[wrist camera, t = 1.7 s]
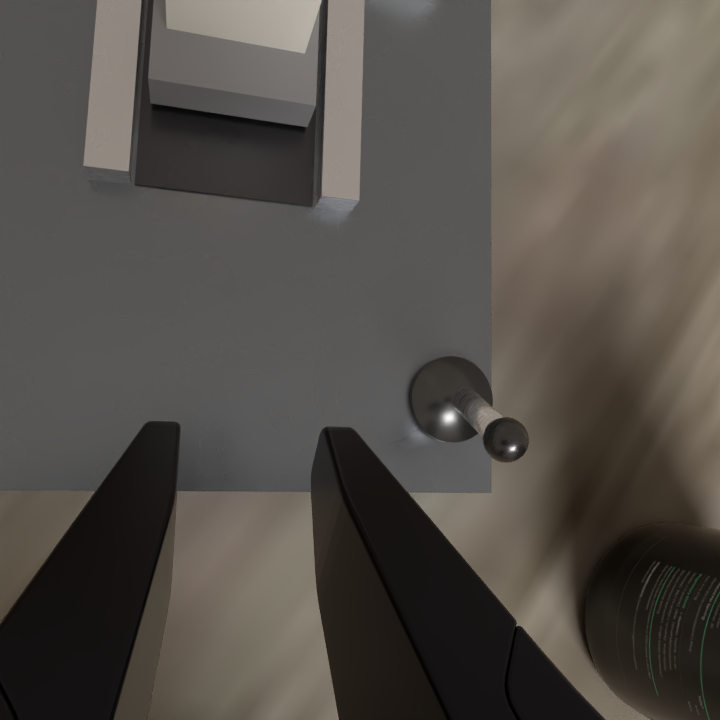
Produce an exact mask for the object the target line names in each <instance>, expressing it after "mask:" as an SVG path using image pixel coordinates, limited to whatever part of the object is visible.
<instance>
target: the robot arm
mask: <svg viewBox="0 0 720 720" xmlns="http://www.w3.org/2000/svg"><path fill="white" fill-rule="evenodd" d="M180 433H181V426H180V424H179V423H178V422H174V421H149V422H147V423H145V424H144V425H143V427H142V428H141V429H140V431H139V432H138V434H137V435H136V436H135V438H134V439H133V440H132V442H131V443H130V445H129V446H128V447H127V449H126V450H125V452H124V453H123V454H122V456H121V457H120V458H119V460H118V461H117V463H116V464H115V465H114V467H113V468H112V469H111V471H110V472H109V474H108V475H107V476H106V478H105V479H104V481H103V482H102V483H101V485H100V486H99V487H98V489H97V490H96V492H95V493H94V494H93V496H92V497H91V498H90V500H89V501H88V503H87V504H86V505H85V507H84V508H83V510H82V511H81V512H80V514H79V515H78V516H77V518H76V519H75V521H74V522H73V523H72V525H71V526H70V528H69V529H68V530H67V532H66V533H65V534H64V536H63V537H62V539H61V540H60V541H59V543H58V544H57V545H56V547H55V548H54V550H53V551H52V552H51V554H50V555H49V557H48V558H47V559H46V561H45V562H44V563H43V565H42V566H41V568H40V569H39V570H38V572H37V573H36V574H35V576H34V577H33V579H32V580H31V581H30V583H29V584H28V586H27V587H26V588H25V590H24V591H23V592H22V594H21V595H20V597H19V598H18V599H17V601H16V602H15V604H14V605H13V606H12V608H11V609H10V610H9V612H8V613H7V615H6V616H5V617H4V619H3V620H2V621H1V623H0V720H147V718H148V712H149V707H150V702H151V696H152V691H153V686H154V681H155V675H156V670H157V665H158V660H159V654H160V649H161V644H162V638H163V633H164V628H165V623H166V617H167V612H168V605H169V599H170V592H171V581H172V568H173V551H174V535H175V519H176V502H177V486H178V469H179V451H180ZM311 500H312V519H313V538H314V557H315V574H316V587H317V595H318V602H319V609H320V614H321V620H322V626H323V631H324V637H325V643H326V648H327V654H328V660H329V665H330V671H331V677H332V683H333V688H334V694H335V700H336V705H337V711H338V717H339V720H605V719H604V718H603V717H602V716H601V715H600V714H599V712H598V711H597V710H596V709H595V708H594V707H593V706H592V705H591V704H590V703H589V702H588V701H587V700H586V699H585V698H584V697H583V696H582V695H581V694H580V693H579V692H578V691H577V690H576V689H575V687H574V686H573V685H572V684H571V683H570V682H569V681H568V680H567V678H566V677H565V676H564V675H563V674H562V673H561V672H560V671H559V669H558V668H557V667H556V666H555V665H554V664H553V663H552V661H551V660H550V659H549V658H548V657H547V656H546V655H545V654H544V652H543V651H542V650H541V649H540V648H539V647H538V645H537V644H536V643H535V642H534V641H533V640H532V638H531V637H530V636H529V635H528V634H527V632H526V631H525V630H524V629H523V628H522V627H521V626H517V627H516V624H517V623H516V620H515V619H514V617H513V616H512V615H511V614H510V613H509V611H508V610H507V609H506V608H505V607H504V606H503V604H502V603H501V602H500V601H499V600H498V598H497V597H496V596H495V595H494V594H493V593H492V591H491V590H490V589H489V588H488V587H487V585H486V584H485V583H484V582H483V581H482V580H481V578H480V577H479V576H478V575H477V574H476V572H475V571H474V570H473V569H472V568H471V567H470V565H469V564H468V563H467V562H466V561H465V559H464V558H463V557H462V556H461V555H460V554H459V552H458V551H457V550H456V549H455V548H454V546H453V545H452V544H451V543H450V542H449V541H448V539H447V538H446V537H445V536H444V535H443V533H442V532H441V531H440V530H439V529H438V528H437V526H436V525H435V524H434V523H433V522H432V520H431V519H430V518H429V517H428V516H427V515H426V513H425V512H424V511H423V510H422V509H421V507H420V506H419V505H418V504H417V503H416V502H415V500H414V499H413V498H412V497H411V496H410V494H409V493H408V492H407V491H406V490H405V488H404V487H403V486H402V485H401V484H400V483H399V481H398V480H397V479H396V478H395V477H394V475H393V474H392V473H391V472H390V471H389V470H388V468H387V467H386V466H385V465H384V464H383V462H382V461H381V460H380V459H379V458H378V457H377V455H376V454H375V453H374V452H373V451H372V449H371V448H370V447H369V446H368V445H367V444H366V442H365V441H364V440H363V439H362V438H361V436H360V435H359V434H358V433H357V432H356V431H355V430H354V429H353V428H350V427H334V426H327V427H324V428H323V429H322V430H321V432H320V435H319V439H318V444H317V448H316V452H315V457H314V461H313V465H312V471H311Z"/></svg>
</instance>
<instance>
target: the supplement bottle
mask: <svg viewBox="0 0 720 720" xmlns="http://www.w3.org/2000/svg"><path fill="white" fill-rule="evenodd" d="M585 632H586V638H587V643H588V647H589V650H590V654H591V656H592V659H593V662H594V664H595V666H596V668H597V670H598V672H599V674H600V675H601V677H602V679H603V680H604V681H605V683H606V684H607V685H608V687H609V688H610V689H611V690H612V691H613V692H614V694H615V695H616V696H618V697H619V698H620V699H621V700H622V701H623V702H625V703H626V704H627V705H629V706H630V707H632V708H633V709H635V710H636V711H638V712H639V713H641V714H642V715H644V716H646V717H648V718H649V719H650V720H720V530H718V529H712V528H706V527H700V526H692V525H686V524H679V523H654V524H649V525H645V526H642V527H639V528H637V529H634V530H633V531H631V532H629V533H627V534H626V535H624V536H623V537H621V538H620V539H619V540H618V541H616V542H615V543H614V544H613V545H612V546H611V547H610V548H609V549H608V551H607V552H606V553H605V554H604V556H603V557H602V559H601V560H600V562H599V563H598V565H597V567H596V569H595V571H594V574H593V576H592V578H591V581H590V584H589V588H588V592H587V596H586V603H585Z"/></svg>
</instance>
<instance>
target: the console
mask: <svg viewBox="0 0 720 720" xmlns="http://www.w3.org/2000/svg"><path fill="white" fill-rule="evenodd" d="M153 4H154V0H0V490H89V491H96V490H97V489H98V487H99V486H100V485H101V483H102V482H103V481H104V479H105V478H106V476H107V475H108V474H109V472H110V471H111V469H112V468H113V467H114V465H115V464H116V463H117V461H118V460H119V458H120V457H121V456H122V454H123V453H124V452H125V450H126V449H127V447H128V446H129V445H130V443H131V442H132V440H133V439H134V438H135V436H136V435H137V434H138V432H139V431H140V429H141V428H142V427H143V425H144V424H145V423H147V422H149V421H174V422H178V423H179V424H180V426H181V433H180V451H179V469H178V486H177V491H267V492H311V471H312V465H313V461H314V457H315V452H316V448H317V444H318V439H319V435H320V432H321V430H322V429H323V428H324V427H327V426H334V427H350V428H353V429H354V430H355V431H356V432H357V433H358V434H359V435H360V436H361V438H362V439H363V440H364V441H365V442H366V444H367V445H368V446H369V447H370V448H371V449H372V451H373V452H374V453H375V454H376V455H377V457H378V458H379V459H380V460H381V461H382V462H383V464H384V465H385V466H386V467H387V468H388V470H389V471H390V472H391V473H392V474H393V475H394V477H395V478H396V479H397V480H398V481H399V483H400V484H401V485H402V486H403V487H404V488H405V490H406V491H407V492H445V493H491V456H490V455H489V454H488V453H487V452H486V450H485V448H484V445H483V437H482V436H481V435H480V434H479V433H478V432H477V431H476V430H475V429H474V428H473V427H472V426H471V425H470V424H469V423H468V421H467V420H466V419H465V418H464V417H463V416H462V415H461V414H460V413H459V412H458V411H457V410H456V409H455V408H454V406H453V404H452V395H453V393H454V392H455V391H456V390H457V389H458V388H461V387H469V388H471V389H473V390H474V391H475V392H476V393H477V394H478V395H479V396H480V397H481V398H483V399H484V400H485V401H486V402H487V403H488V404H489V405H490V406H491V407H492V403H493V399H492V391H491V0H322V1H321V4H320V11H319V38H318V66H317V94H316V107H315V110H314V112H313V115H312V117H311V120H310V122H309V125H308V127H302V126H296V125H289V124H283V123H276V122H270V121H263V120H257V119H250V118H244V117H237V116H230V115H224V114H217V113H211V112H204V111H198V110H191V109H185V108H178V107H172V106H165V105H159V104H152V103H150V93H149V82H148V73H149V60H150V46H151V32H152V18H153Z"/></svg>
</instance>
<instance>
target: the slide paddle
mask: <svg viewBox="0 0 720 720" xmlns="http://www.w3.org/2000/svg"><path fill="white" fill-rule="evenodd" d="M321 1H322V0H154V4H153V18H152V32H151V46H150V60H149V73H148V82H149V93H150V103H152V104H159V105H165V106H172V107H178V108H185V109H191V110H198V111H204V112H211V113H217V114H224V115H230V116H237V117H244V118H250V119H257V120H263V121H270V122H276V123H283V124H289V125H296V126H302V127H308V125H309V122H310V120H311V117H312V115H313V112H314V110H315V107H316V94H317V66H318V38H319V11H320V4H321Z"/></svg>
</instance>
